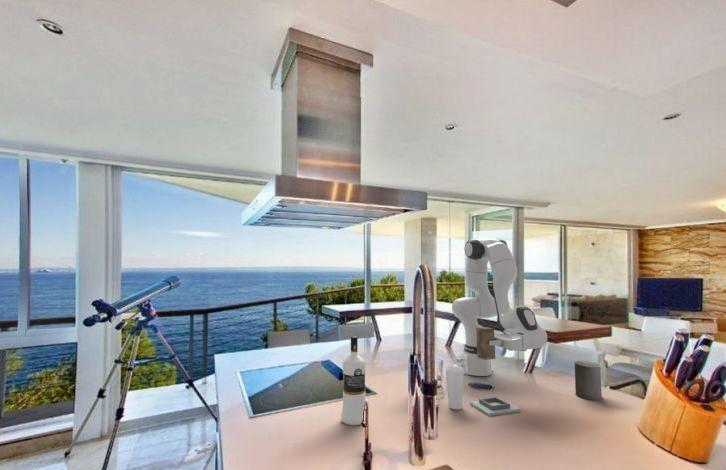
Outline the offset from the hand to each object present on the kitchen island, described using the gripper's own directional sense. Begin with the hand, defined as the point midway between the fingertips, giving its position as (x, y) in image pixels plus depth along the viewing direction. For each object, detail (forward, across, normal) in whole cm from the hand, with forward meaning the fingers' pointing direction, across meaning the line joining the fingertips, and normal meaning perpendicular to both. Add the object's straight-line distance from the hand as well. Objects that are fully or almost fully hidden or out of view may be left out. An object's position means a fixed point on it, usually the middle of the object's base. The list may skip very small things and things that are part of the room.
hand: (483, 341), depth 149 cm
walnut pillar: (-1, 0, +7) cm, 7 cm away
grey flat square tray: (-1, +4, +25) cm, 25 cm away
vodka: (+55, -1, +25) cm, 61 cm away
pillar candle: (-48, +5, +25) cm, 54 cm away
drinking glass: (+14, -1, +25) cm, 28 cm away
